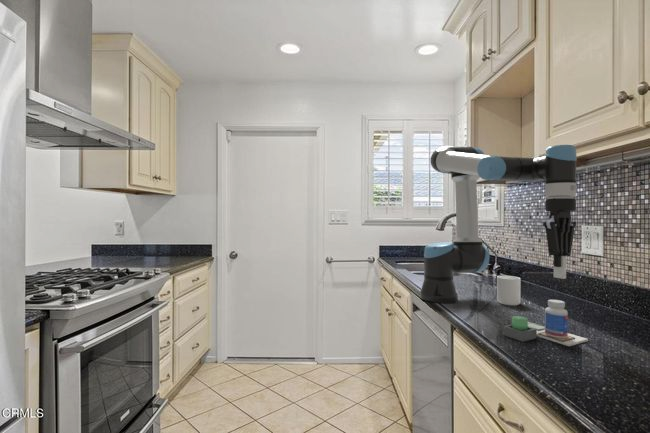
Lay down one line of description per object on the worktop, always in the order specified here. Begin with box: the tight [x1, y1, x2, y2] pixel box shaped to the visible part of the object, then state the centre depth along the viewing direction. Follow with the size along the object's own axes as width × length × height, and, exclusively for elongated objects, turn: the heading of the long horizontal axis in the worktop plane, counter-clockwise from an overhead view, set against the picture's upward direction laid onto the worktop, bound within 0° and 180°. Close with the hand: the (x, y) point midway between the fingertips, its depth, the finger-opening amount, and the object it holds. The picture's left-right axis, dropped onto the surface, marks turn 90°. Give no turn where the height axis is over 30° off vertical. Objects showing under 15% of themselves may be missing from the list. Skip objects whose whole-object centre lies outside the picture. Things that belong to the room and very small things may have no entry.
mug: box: [496, 275, 522, 306], centre depth 139 cm, size 12×8×10 cm
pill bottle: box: [544, 299, 569, 338], centre depth 97 cm, size 6×5×10 cm
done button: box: [511, 315, 529, 331], centre depth 99 cm, size 4×4×4 cm
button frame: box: [502, 323, 537, 342], centre depth 99 cm, size 6×6×3 cm
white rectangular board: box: [528, 321, 589, 347], centre depth 101 cm, size 17×9×1 cm, turn 26°
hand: (559, 277), depth 101 cm, fingers closed
